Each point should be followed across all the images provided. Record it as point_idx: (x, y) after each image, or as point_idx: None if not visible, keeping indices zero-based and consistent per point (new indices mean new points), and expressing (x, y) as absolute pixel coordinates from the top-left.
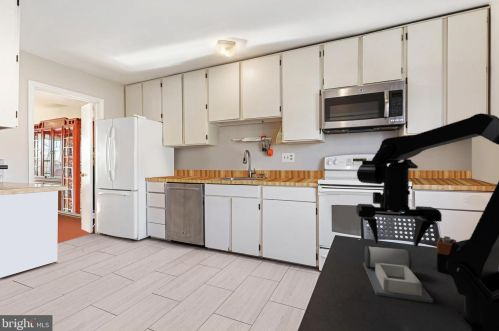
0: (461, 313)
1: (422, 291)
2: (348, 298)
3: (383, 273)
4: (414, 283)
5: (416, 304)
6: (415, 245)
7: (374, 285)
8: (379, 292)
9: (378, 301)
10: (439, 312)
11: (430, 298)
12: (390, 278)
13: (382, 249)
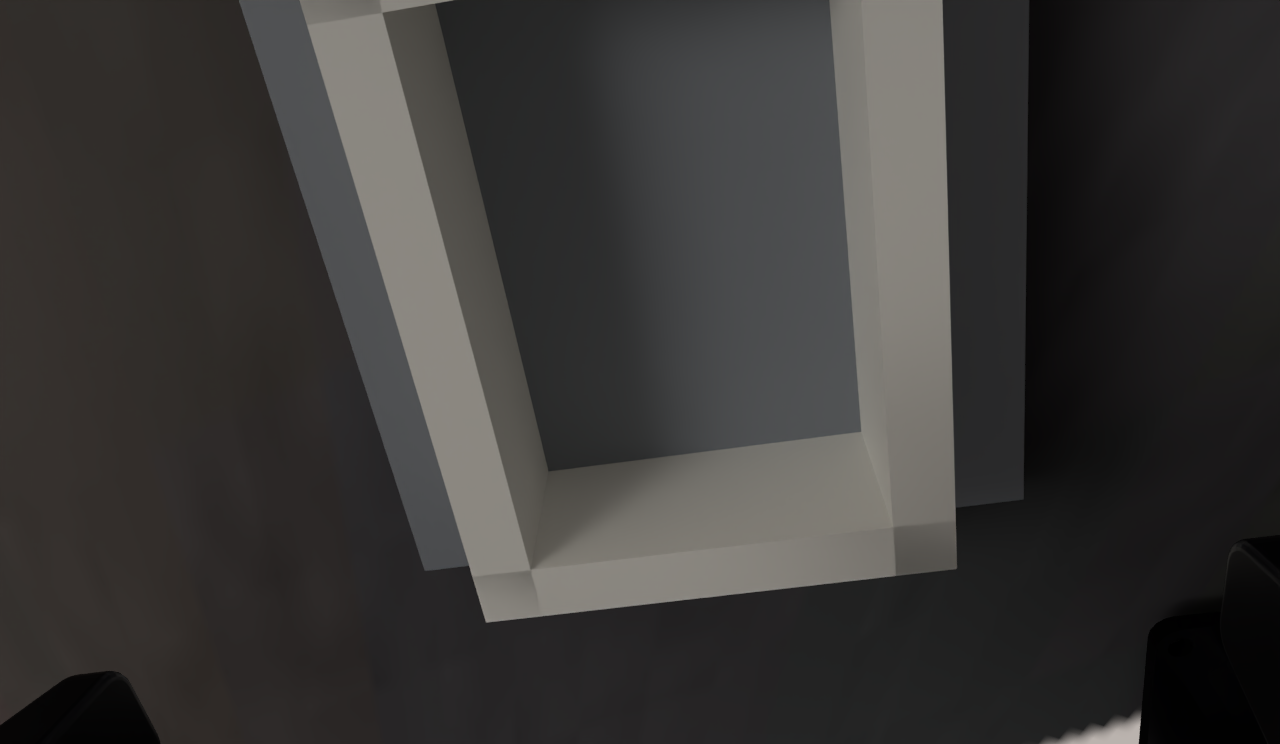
0: (1186, 661)
1: (972, 337)
2: (191, 674)
3: (470, 442)
4: (866, 570)
5: None
6: (1235, 672)
7: (390, 419)
8: (459, 562)
9: (463, 623)
10: (1004, 601)
11: (1003, 486)
12: (566, 573)
13: None
